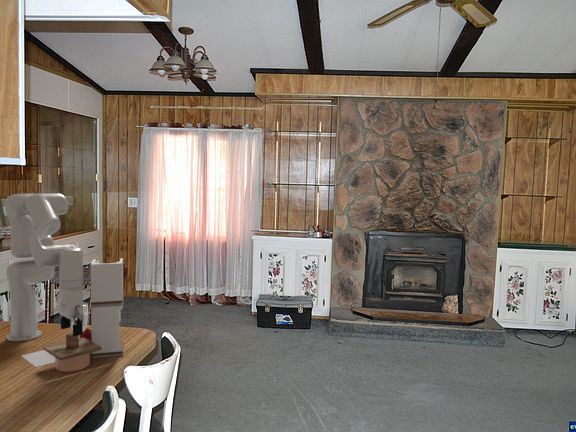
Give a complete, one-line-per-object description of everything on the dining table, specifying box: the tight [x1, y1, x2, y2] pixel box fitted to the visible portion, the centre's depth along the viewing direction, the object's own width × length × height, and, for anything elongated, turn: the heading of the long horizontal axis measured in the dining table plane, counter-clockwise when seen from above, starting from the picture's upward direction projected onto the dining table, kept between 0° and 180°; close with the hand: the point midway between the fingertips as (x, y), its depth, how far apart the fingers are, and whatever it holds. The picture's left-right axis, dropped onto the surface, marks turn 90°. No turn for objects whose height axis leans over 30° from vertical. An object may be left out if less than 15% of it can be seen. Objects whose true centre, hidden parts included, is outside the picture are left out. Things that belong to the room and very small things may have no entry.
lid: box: [43, 332, 101, 360], centre depth 164 cm, size 14×14×6 cm
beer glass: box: [70, 301, 89, 339], centre depth 190 cm, size 7×7×15 cm
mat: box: [21, 349, 55, 368], centre depth 173 cm, size 15×15×1 cm
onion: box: [80, 326, 92, 342], centre depth 183 cm, size 6×6×8 cm
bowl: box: [54, 353, 91, 373], centre depth 164 cm, size 11×11×6 cm
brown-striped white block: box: [90, 257, 125, 359], centre depth 177 cm, size 11×11×35 cm
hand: (71, 331), depth 164 cm, fingers open, 9 cm apart
